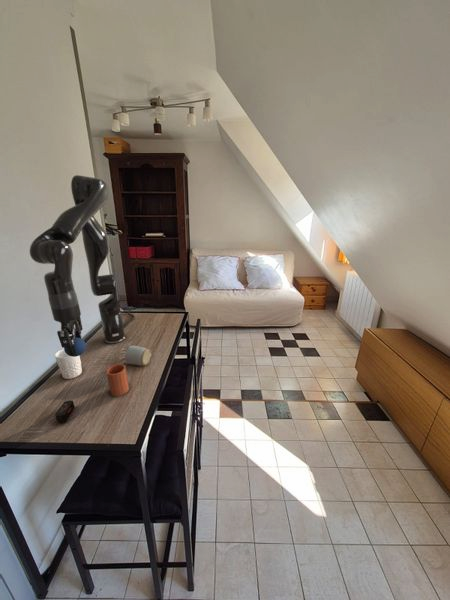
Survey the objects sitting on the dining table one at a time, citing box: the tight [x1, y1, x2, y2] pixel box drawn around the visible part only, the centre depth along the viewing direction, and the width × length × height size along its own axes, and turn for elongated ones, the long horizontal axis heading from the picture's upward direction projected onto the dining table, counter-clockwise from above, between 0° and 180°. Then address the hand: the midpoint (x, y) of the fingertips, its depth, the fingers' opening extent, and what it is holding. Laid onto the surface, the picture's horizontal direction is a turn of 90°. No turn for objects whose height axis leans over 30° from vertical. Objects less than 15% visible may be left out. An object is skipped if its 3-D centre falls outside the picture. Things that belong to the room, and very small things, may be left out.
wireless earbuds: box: [54, 400, 76, 424], centre depth 79 cm, size 5×7×3 cm, turn 6°
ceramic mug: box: [124, 345, 152, 367], centre depth 106 cm, size 11×8×8 cm
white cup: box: [54, 348, 83, 380], centre depth 98 cm, size 8×8×10 cm
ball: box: [63, 337, 87, 357], centre depth 84 cm, size 6×6×6 cm
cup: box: [105, 363, 130, 397], centre depth 89 cm, size 6×6×9 cm
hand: (76, 349), depth 85 cm, fingers closed on ball, 6 cm apart
